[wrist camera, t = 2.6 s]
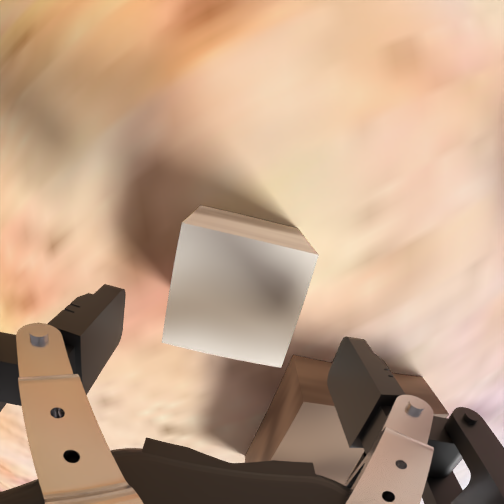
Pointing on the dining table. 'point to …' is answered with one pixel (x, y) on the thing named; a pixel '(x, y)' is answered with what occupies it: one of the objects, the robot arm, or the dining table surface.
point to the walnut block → (317, 420)
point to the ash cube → (237, 286)
